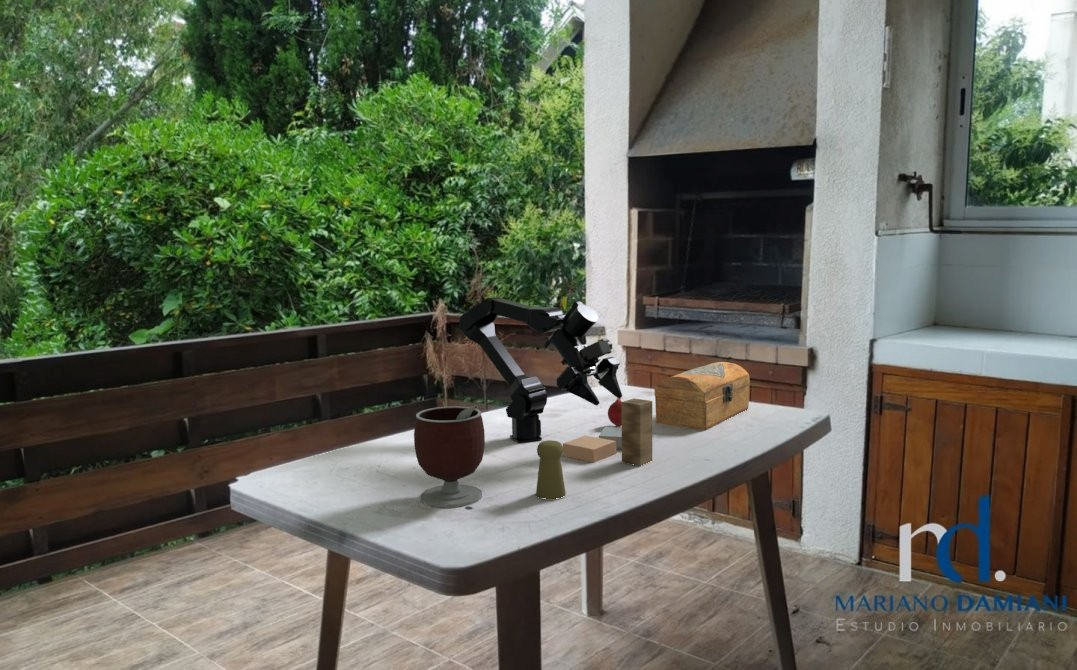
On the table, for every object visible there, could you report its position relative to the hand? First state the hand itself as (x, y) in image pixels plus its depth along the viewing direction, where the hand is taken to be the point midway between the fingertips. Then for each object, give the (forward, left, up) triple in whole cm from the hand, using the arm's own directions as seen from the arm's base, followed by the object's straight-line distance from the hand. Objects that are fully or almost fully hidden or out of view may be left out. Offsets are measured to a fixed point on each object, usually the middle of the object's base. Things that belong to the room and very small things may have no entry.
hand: (609, 400), depth 182 cm
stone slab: (+7, +8, -13) cm, 17 cm away
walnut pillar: (+3, -7, -13) cm, 15 cm away
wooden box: (+43, +23, -14) cm, 50 cm away
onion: (+15, +23, -13) cm, 31 cm away
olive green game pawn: (-24, -19, -13) cm, 33 cm away
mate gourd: (-42, -12, -13) cm, 45 cm away
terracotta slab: (-4, +3, -13) cm, 14 cm away
